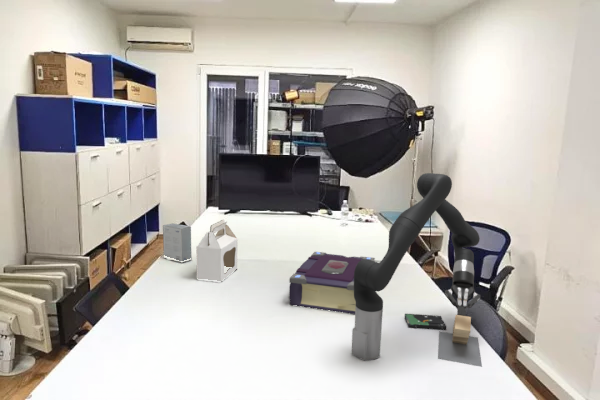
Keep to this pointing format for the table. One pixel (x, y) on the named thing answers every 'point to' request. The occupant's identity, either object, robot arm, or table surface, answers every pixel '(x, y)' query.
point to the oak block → (461, 329)
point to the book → (325, 283)
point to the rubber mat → (459, 350)
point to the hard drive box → (177, 241)
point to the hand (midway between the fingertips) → (461, 316)
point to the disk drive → (425, 321)
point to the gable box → (217, 253)
